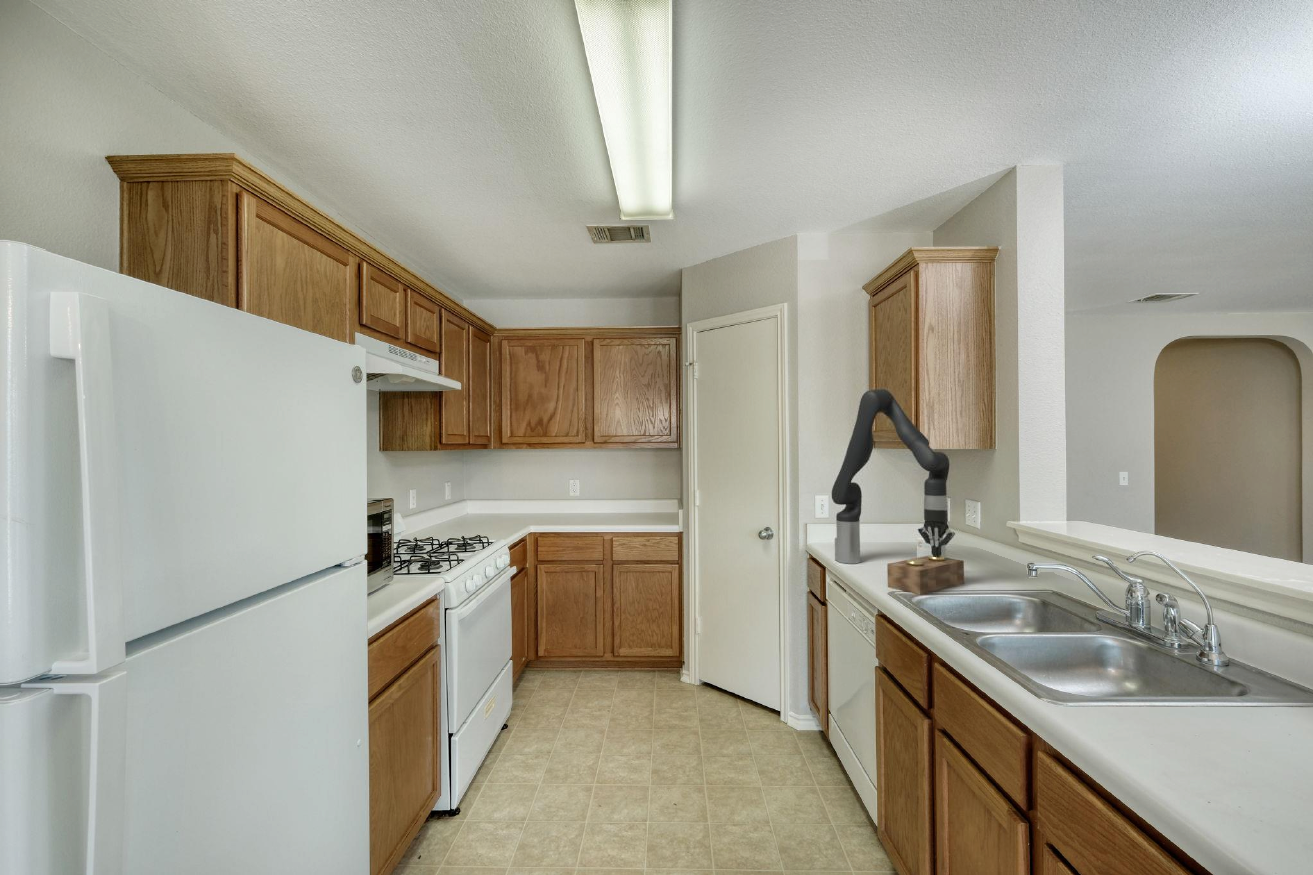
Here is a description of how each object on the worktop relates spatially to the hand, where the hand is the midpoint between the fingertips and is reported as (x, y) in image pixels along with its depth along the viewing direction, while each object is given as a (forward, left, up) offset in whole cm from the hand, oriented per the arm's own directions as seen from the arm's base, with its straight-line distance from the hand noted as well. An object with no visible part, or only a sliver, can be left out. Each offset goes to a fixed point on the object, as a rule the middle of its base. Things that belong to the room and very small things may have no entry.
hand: (936, 556), depth 193 cm
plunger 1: (0, -13, -8) cm, 15 cm away
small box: (-9, +12, -10) cm, 17 cm away
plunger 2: (0, 0, -8) cm, 8 cm away
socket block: (0, -6, -9) cm, 11 cm away
